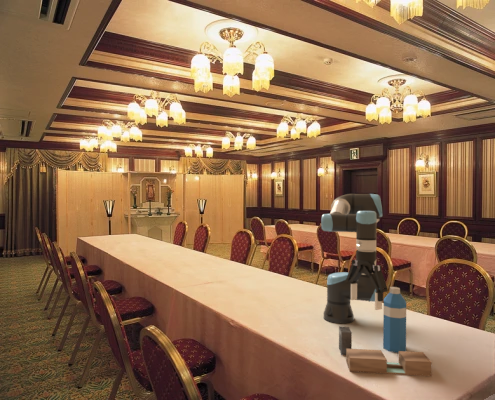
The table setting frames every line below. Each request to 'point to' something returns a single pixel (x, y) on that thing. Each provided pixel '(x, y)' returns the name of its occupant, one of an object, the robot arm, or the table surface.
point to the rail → (378, 363)
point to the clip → (345, 339)
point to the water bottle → (394, 321)
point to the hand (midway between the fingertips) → (365, 304)
